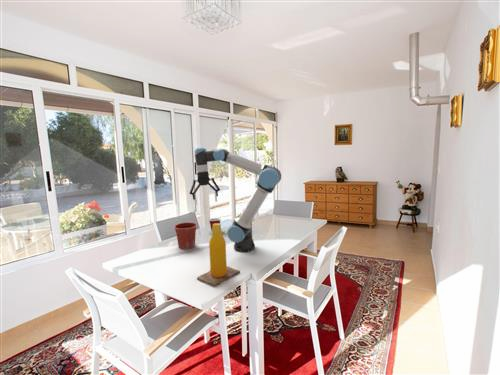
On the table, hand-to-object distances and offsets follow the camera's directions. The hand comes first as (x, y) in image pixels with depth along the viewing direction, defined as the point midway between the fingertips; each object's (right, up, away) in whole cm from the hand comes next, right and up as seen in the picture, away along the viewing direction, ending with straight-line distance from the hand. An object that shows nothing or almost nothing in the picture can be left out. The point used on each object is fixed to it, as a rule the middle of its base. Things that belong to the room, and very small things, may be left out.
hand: (206, 202), depth 178 cm
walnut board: (+12, -40, -29) cm, 50 cm away
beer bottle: (+12, -39, -29) cm, 50 cm away
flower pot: (-18, -34, +20) cm, 43 cm away
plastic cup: (-1, -29, +52) cm, 59 cm away
